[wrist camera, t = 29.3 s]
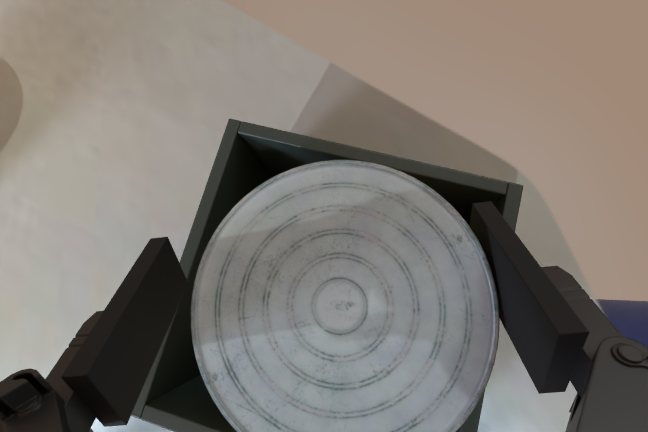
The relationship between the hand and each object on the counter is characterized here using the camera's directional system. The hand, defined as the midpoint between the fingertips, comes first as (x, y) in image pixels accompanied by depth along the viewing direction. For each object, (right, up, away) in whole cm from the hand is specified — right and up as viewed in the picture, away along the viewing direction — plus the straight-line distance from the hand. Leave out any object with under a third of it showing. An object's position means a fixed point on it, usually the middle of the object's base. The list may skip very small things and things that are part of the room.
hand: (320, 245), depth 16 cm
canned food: (+2, -4, +9) cm, 10 cm away
